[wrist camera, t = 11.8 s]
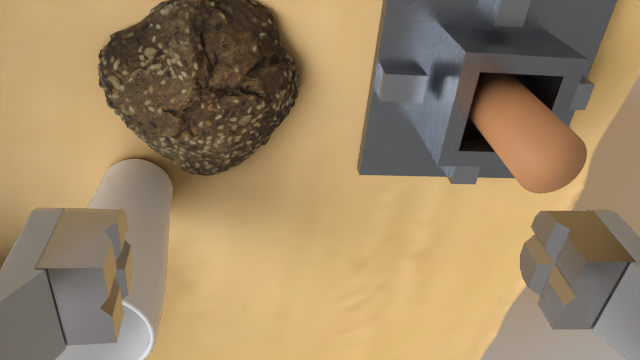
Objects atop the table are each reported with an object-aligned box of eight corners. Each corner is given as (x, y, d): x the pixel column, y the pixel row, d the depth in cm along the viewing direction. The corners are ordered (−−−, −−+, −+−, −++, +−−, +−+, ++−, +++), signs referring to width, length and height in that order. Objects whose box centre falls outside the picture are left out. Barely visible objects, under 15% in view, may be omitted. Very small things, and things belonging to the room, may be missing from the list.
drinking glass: (157, 134, 40) (116, 276, 27) (198, 203, 43) (178, 355, 31) (74, 164, 40) (-4, 317, 28) (121, 230, 44) (72, 390, 31)
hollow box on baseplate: (390, -45, 35) (414, -23, 30) (616, -26, 37) (674, -2, 32) (357, 168, 43) (371, 212, 38) (542, 172, 45) (579, 214, 40)
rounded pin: (460, 57, 38) (529, 130, 29) (514, 60, 38) (597, 133, 29) (448, 108, 40) (507, 192, 31) (498, 111, 41) (571, 193, 31)
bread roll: (197, 182, 43) (191, 221, 38) (74, 62, 36) (52, 92, 32) (331, 93, 40) (341, 124, 36) (223, -55, 33) (219, -38, 29)
